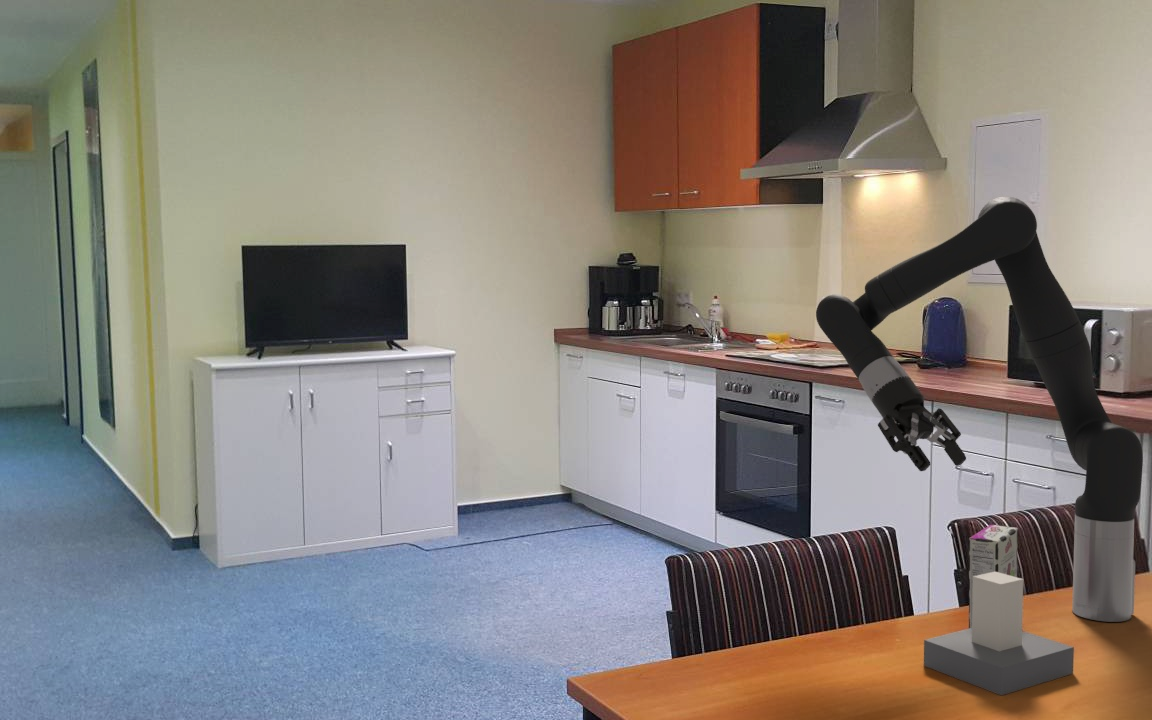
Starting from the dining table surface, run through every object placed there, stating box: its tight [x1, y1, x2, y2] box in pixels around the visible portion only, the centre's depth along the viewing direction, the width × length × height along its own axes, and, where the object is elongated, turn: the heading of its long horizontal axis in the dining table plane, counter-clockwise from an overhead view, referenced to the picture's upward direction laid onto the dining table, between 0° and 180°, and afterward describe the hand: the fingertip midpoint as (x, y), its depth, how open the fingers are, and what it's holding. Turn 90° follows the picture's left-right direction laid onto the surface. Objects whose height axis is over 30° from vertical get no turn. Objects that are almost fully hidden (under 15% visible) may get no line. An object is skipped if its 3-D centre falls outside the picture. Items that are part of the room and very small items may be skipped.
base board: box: [923, 627, 1075, 696], centre depth 168 cm, size 16×14×4 cm
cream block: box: [972, 572, 1024, 651], centre depth 167 cm, size 5×5×10 cm
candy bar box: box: [968, 524, 1019, 629], centre depth 186 cm, size 11×5×16 cm, turn 143°
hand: (944, 465), depth 182 cm, fingers open, 8 cm apart
